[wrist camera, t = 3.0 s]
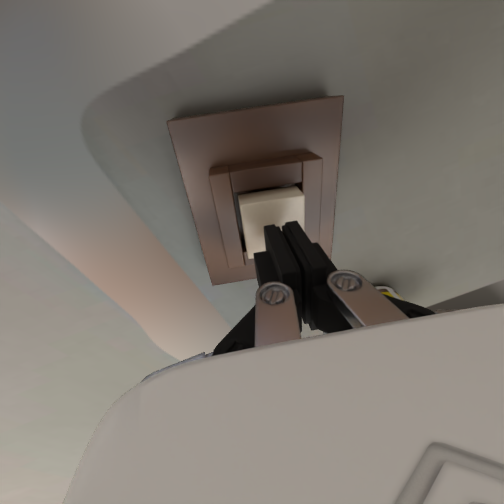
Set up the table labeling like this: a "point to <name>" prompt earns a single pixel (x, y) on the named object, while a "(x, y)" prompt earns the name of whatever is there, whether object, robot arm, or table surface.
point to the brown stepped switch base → (257, 172)
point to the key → (269, 213)
